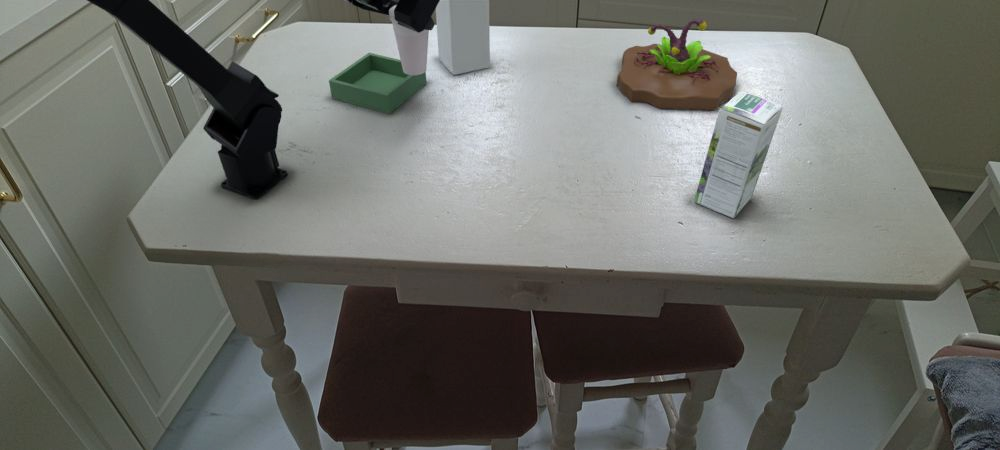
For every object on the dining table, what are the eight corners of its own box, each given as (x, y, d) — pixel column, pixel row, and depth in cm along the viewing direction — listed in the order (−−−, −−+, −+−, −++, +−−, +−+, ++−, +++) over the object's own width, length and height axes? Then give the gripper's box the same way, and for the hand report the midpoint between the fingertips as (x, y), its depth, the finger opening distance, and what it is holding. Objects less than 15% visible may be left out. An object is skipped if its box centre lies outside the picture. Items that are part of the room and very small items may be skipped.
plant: (735, 118, 101) (753, 52, 94) (611, 102, 105) (619, 37, 98) (733, 63, 116) (749, 2, 109) (625, 50, 120) (633, -10, 113)
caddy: (389, 114, 102) (387, 95, 100) (331, 98, 106) (328, 80, 104) (426, 83, 110) (425, 65, 108) (371, 69, 114) (369, 52, 112)
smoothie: (438, 62, 104) (433, -26, 95) (430, 80, 99) (424, -11, 90) (399, 59, 104) (391, -28, 95) (390, 78, 100) (380, -13, 91)
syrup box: (711, 182, 89) (737, 88, 79) (753, 199, 86) (784, 103, 76) (693, 202, 85) (717, 106, 76) (735, 220, 82) (766, 123, 73)
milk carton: (438, 59, 117) (431, -49, 105) (474, 52, 119) (471, -55, 107) (453, 76, 112) (447, -36, 100) (490, 68, 114) (489, -42, 102)
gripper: (426, -78, 79) (488, -11, 92) (335, -104, 89) (402, -41, 102) (383, 3, 80) (450, 57, 93) (297, -33, 89) (369, 22, 103)
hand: (417, 21), depth 98 cm, fingers closed on smoothie, 6 cm apart
